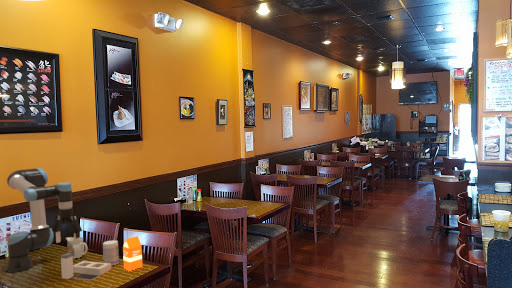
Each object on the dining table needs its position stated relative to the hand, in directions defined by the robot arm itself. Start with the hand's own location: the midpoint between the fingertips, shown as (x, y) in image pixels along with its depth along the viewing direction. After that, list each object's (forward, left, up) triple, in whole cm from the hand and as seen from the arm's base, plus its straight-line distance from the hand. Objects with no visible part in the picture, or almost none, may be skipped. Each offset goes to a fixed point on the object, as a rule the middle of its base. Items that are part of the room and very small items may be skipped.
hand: (67, 242), depth 234 cm
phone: (+12, +2, -21) cm, 24 cm away
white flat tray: (+7, +11, -21) cm, 25 cm away
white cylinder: (0, -1, -21) cm, 21 cm away
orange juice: (+31, +21, -21) cm, 43 cm away
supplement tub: (+11, +25, -21) cm, 34 cm away
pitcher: (-23, +31, -21) cm, 44 cm away
